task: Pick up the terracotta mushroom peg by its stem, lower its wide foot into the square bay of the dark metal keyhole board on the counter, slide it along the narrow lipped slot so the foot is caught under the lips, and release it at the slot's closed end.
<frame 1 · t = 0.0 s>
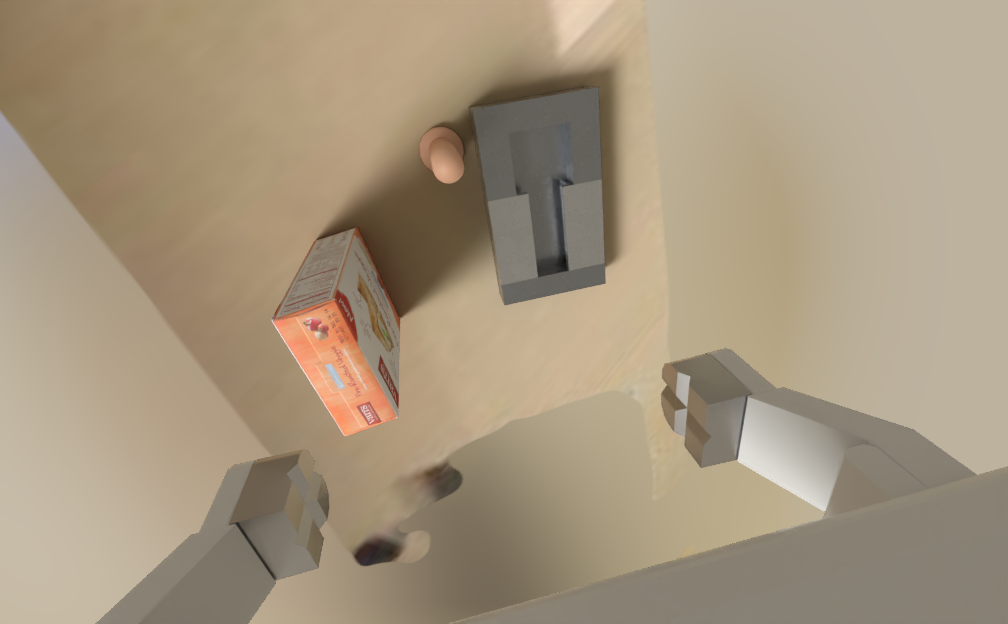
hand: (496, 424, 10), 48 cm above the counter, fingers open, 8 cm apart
peg: (441, 149, 53), on the counter
keyhole board: (539, 199, 58), on the counter
cracker box: (361, 280, 58), on the counter
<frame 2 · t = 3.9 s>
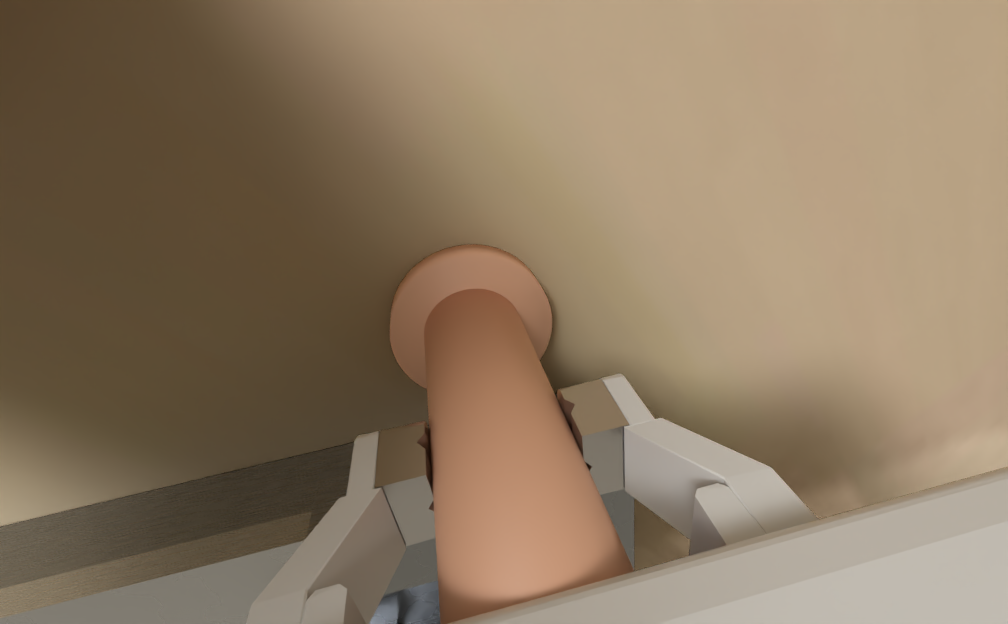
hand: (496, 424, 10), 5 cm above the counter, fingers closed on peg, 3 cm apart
peg: (469, 317, 15), on the counter, touching gripper
keyhole board: (333, 576, 19), on the counter
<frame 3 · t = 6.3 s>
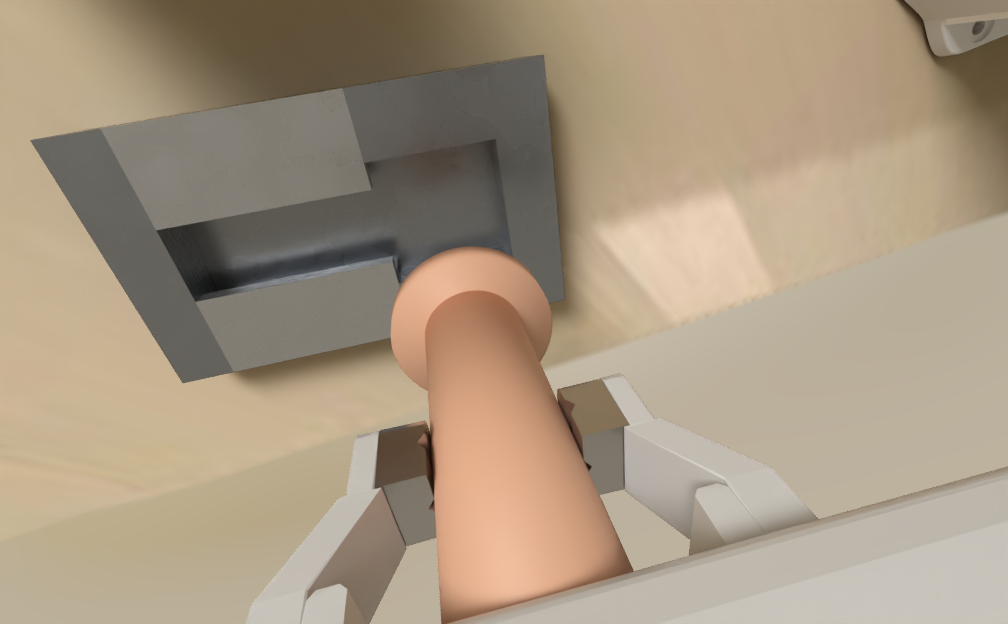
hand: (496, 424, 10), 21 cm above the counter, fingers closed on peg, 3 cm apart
peg: (470, 319, 15), point 16 cm above the counter, touching gripper
keyhole board: (353, 216, 28), on the counter
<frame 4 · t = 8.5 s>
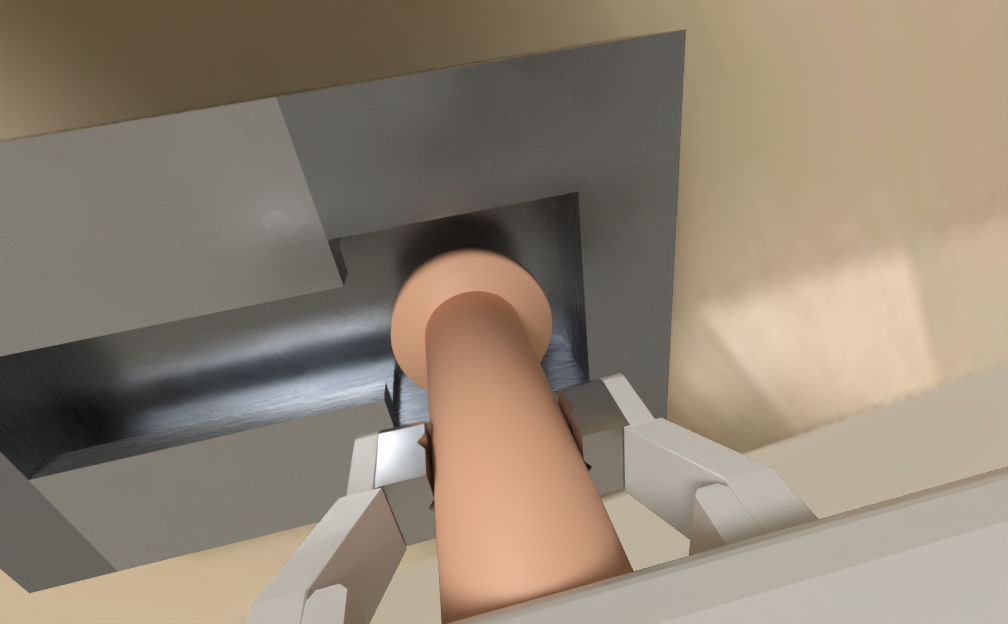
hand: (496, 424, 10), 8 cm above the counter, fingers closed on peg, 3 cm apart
peg: (470, 319, 15), point 3 cm above the counter, touching gripper
keyhole board: (320, 306, 17), on the counter
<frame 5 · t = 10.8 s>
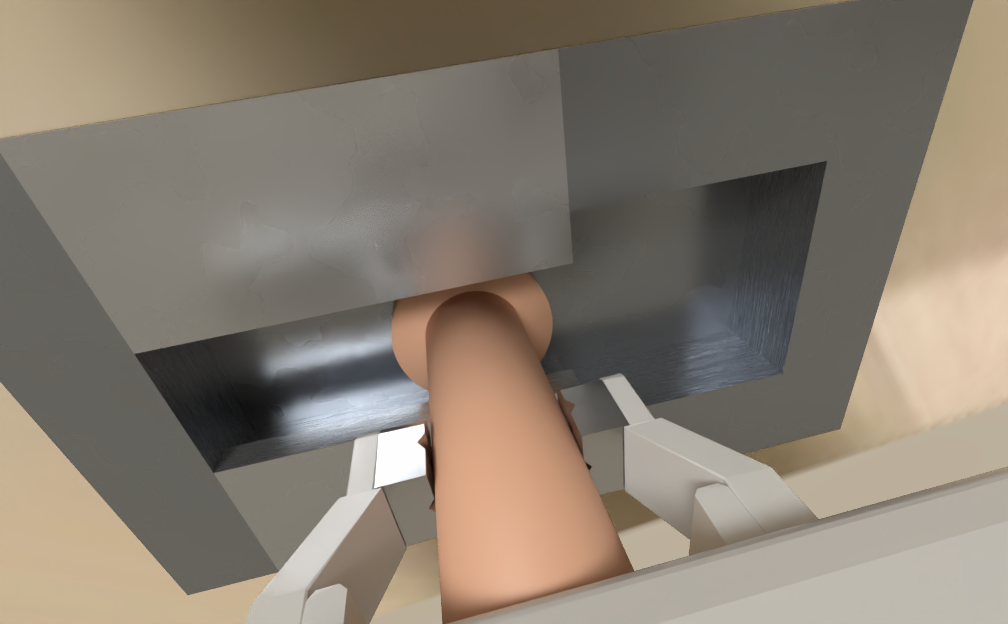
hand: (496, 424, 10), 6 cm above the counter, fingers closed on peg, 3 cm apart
peg: (470, 319, 15), point 1 cm above the counter, touching gripper
keyhole board: (490, 290, 16), on the counter
when the fingers open (6 cm above the counter, at t = 12.9 s): peg stays where it is, resting on keyhole board.
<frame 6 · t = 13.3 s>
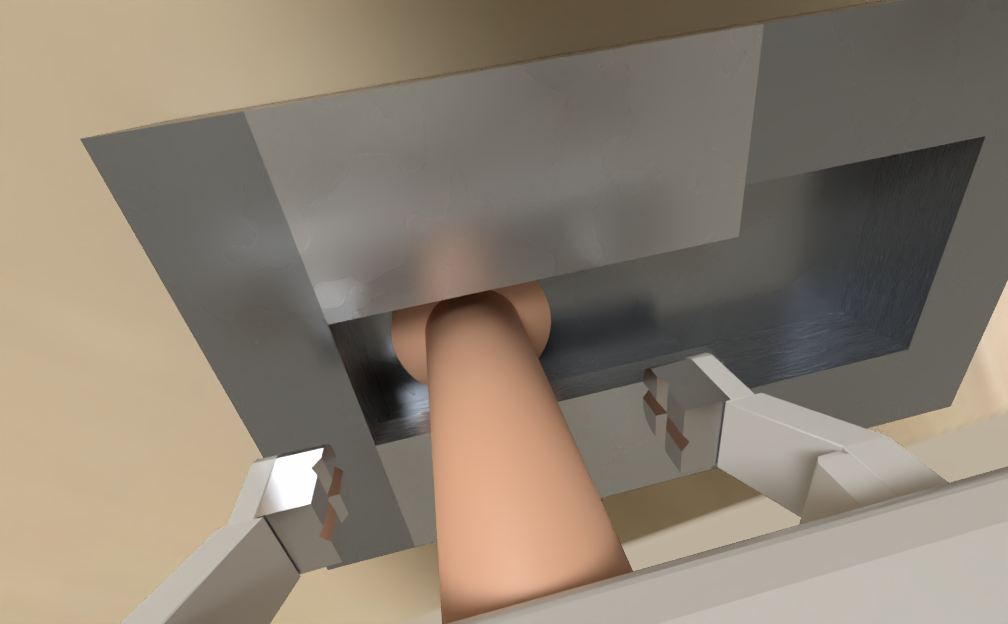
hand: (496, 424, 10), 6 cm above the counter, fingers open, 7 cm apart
peg: (469, 316, 15), point 1 cm above the counter, touching keyhole board
keyhole board: (616, 270, 16), on the counter
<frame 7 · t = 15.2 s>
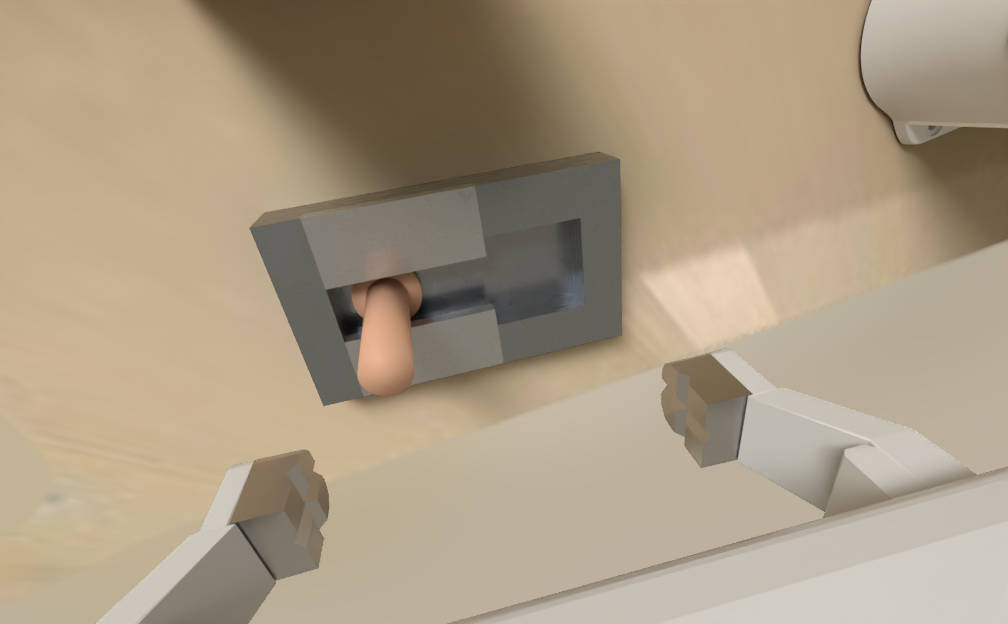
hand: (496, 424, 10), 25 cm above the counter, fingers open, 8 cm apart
peg: (387, 290, 34), point 1 cm above the counter, touching keyhole board
keyhole board: (457, 271, 35), on the counter
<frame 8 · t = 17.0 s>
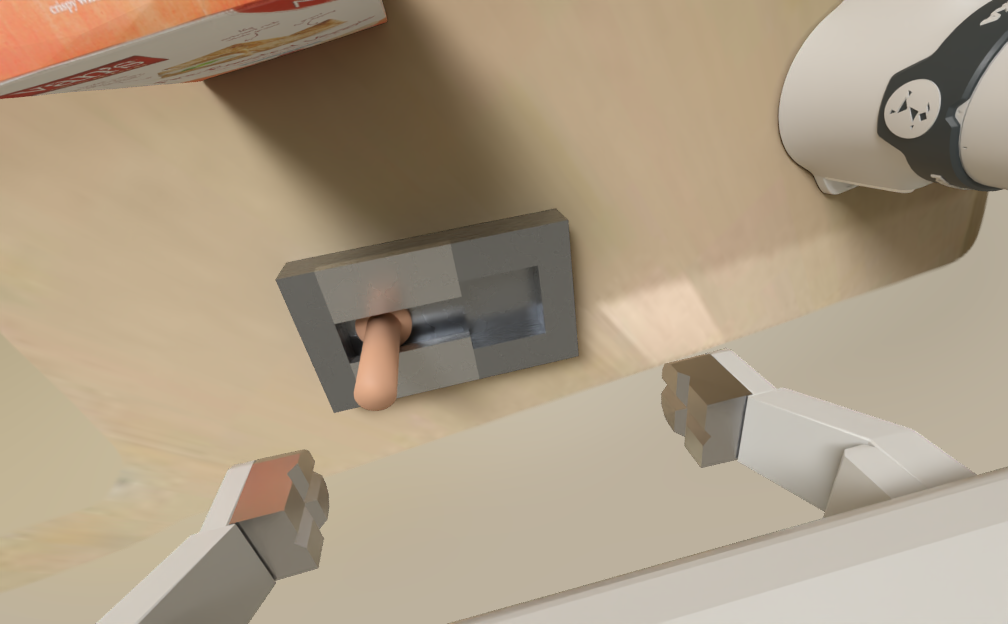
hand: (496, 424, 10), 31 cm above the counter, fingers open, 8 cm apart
peg: (384, 321, 42), point 1 cm above the counter, touching keyhole board
keyhole board: (441, 303, 43), on the counter
cracker box: (278, 9, 31), on the counter
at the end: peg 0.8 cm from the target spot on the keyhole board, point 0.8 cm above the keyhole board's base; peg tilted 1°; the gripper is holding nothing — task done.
